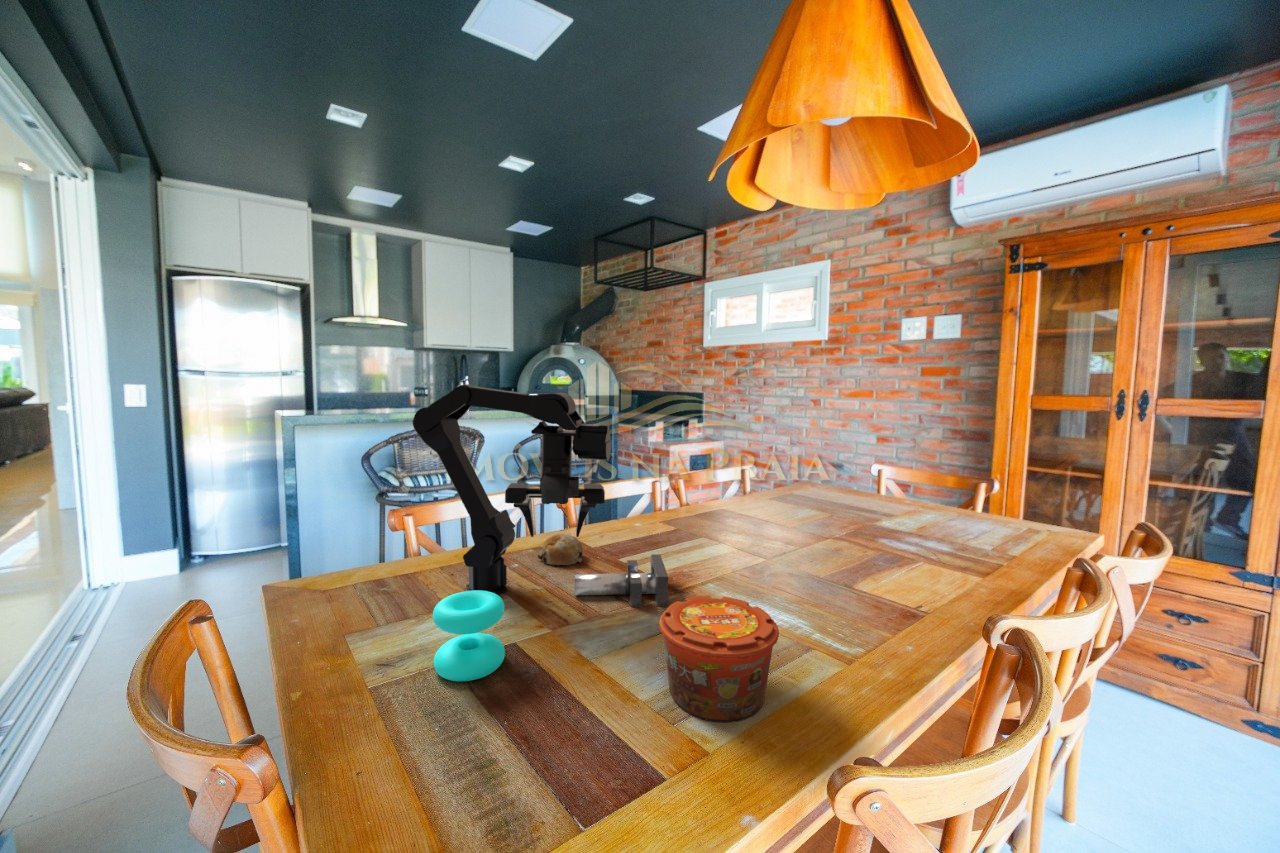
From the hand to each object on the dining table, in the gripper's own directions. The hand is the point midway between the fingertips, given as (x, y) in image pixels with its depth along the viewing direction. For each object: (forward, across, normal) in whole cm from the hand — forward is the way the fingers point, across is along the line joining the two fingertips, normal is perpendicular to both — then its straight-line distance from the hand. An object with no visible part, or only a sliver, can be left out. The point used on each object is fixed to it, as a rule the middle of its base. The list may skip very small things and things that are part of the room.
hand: (555, 536), depth 101 cm
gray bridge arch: (+11, +21, -1) cm, 24 cm away
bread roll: (+12, +1, +20) cm, 24 cm away
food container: (+11, +23, -35) cm, 43 cm away
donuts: (+12, -11, -25) cm, 30 cm away
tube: (+12, +12, -1) cm, 17 cm away
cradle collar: (+11, +16, -1) cm, 20 cm away
